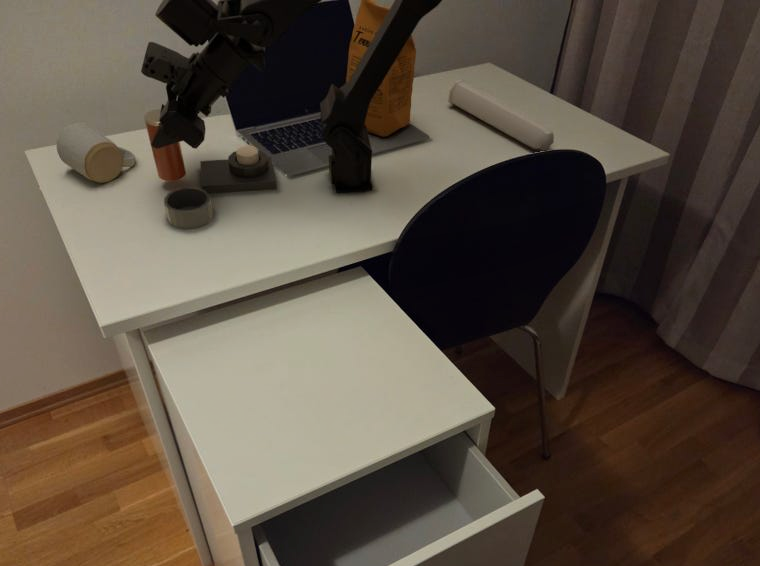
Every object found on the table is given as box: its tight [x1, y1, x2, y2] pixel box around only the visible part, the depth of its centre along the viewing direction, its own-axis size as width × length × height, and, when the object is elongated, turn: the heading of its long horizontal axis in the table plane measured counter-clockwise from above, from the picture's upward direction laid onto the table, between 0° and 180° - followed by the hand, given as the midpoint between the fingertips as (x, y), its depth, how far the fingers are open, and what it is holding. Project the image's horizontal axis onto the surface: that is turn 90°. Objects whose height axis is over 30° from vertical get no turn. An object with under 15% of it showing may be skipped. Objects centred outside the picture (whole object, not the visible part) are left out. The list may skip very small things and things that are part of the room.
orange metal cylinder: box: [143, 108, 187, 182], centre depth 101 cm, size 4×4×10 cm
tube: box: [447, 79, 555, 153], centre depth 126 cm, size 5×5×25 cm
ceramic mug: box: [56, 122, 136, 184], centre depth 105 cm, size 11×8×8 cm
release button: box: [235, 145, 259, 165], centre depth 107 cm, size 4×4×2 cm
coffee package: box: [345, 0, 417, 138], centre depth 118 cm, size 10×12×22 cm
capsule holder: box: [163, 186, 214, 230], centre depth 99 cm, size 7×7×4 cm
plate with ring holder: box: [199, 149, 277, 195], centre depth 107 cm, size 12×8×4 cm
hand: (155, 139), depth 100 cm, fingers closed on orange metal cylinder, 4 cm apart
